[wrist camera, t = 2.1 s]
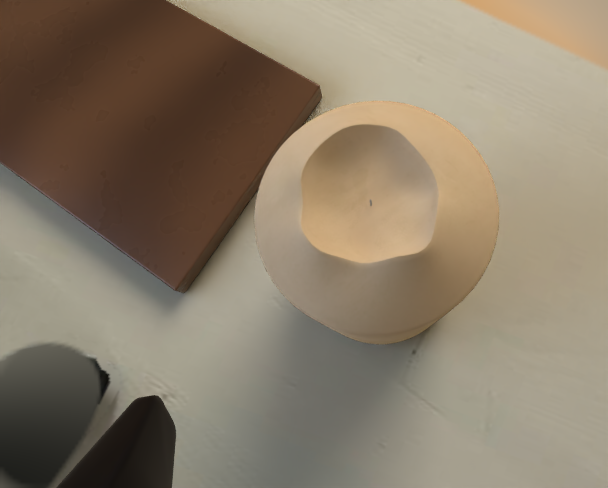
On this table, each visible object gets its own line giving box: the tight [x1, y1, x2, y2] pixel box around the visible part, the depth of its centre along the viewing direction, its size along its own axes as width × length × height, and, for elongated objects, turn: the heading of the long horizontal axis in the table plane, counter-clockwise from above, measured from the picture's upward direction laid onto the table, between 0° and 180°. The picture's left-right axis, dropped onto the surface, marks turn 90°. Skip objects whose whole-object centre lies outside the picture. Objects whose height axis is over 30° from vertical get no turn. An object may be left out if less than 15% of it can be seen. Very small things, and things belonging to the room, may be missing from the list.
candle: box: [254, 101, 499, 344], centre depth 15 cm, size 6×6×10 cm
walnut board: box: [0, 0, 322, 293], centre depth 24 cm, size 20×10×1 cm, turn 55°
